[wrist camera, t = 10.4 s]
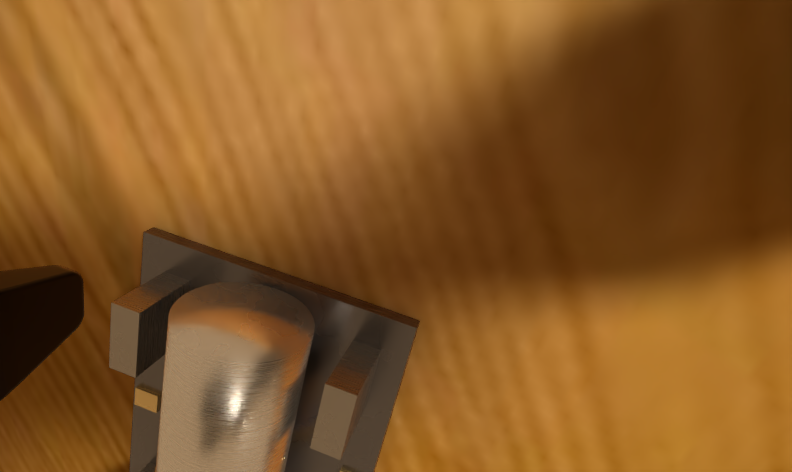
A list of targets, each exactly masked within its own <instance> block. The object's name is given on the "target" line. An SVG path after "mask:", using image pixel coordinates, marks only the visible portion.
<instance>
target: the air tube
mask: <svg viewBox="0 0 792 472" xmlns="http://www.w3.org/2000/svg"><path fill="white" fill-rule="evenodd" d="M314 329H315V323H314V319H313V316H312V314H311V313H310V311H309V310H308V308H307V307H306V306H305V305H304V304H303V303H302V302H300V301H299V300H298V299H296V298H295V297H293V296H291V295H290V294H288V293H286V292H283V291H281V290H278V289H276V288H272V287H269V286H265V285H261V284H255V283H247V282H223V283H215V284H209V285H205V286H202V287H199V288H196V289H194V290H191V291H189V292H187V293H186V294H184V295H182V296H181V297H180V298H179V299H178V300H177V301H176V302H175V303H174V304H173V306H172V307H171V309H170V312H169V316H168V328H167V340H166V352H165V364H164V376H163V388H162V400H161V412H160V424H159V436H158V448H157V460H156V467H155V471H154V472H285V467H286V462H287V457H288V452H289V448H290V443H291V438H292V434H293V429H294V424H295V420H296V415H297V410H298V405H299V401H300V396H301V391H302V387H303V382H304V377H305V372H306V368H307V363H308V358H309V354H310V349H311V344H312V339H313V335H314Z"/></svg>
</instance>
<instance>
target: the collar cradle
mask: <svg viewBox="0 0 792 472" xmlns="http://www.w3.org/2000/svg"><path fill="white" fill-rule="evenodd" d="M223 282H247V283H255V284H261V285H265V286H269V287H272V288H276V289H278V290H281V291H283V292H286V293H288V294H290V295H291V296H293V297H295V298H296V299H298V300H299V301H300V302H302V303H303V304H304V305H305V306H306V307H307V308H308V310H309V311H310V313H311V314H312V316H313V319H314V323H315V329H314V335H313V339H312V344H311V349H310V354H309V358H308V363H307V368H306V372H305V377H304V382H303V387H302V391H301V396H300V401H299V405H298V410H297V415H296V420H295V424H294V429H293V434H292V438H291V443H290V448H289V452H288V457H287V462H286V467H285V472H374V471H375V467H376V464H377V461H378V458H379V454H380V451H381V448H382V444H383V441H384V438H385V434H386V431H387V428H388V425H389V421H390V418H391V415H392V411H393V408H394V405H395V402H396V398H397V395H398V392H399V388H400V385H401V382H402V378H403V375H404V372H405V369H406V365H407V362H408V359H409V355H410V352H411V349H412V346H413V342H414V339H415V336H416V332H417V329H418V326H419V322H420V321H419V320H416V319H413V318H410V317H407V316H405V315H402V314H399V313H396V312H393V311H390V310H388V309H385V308H382V307H379V306H376V305H373V304H370V303H368V302H365V301H362V300H359V299H356V298H353V297H350V296H348V295H345V294H342V293H339V292H336V291H333V290H330V289H328V288H325V287H322V286H319V285H316V284H313V283H310V282H308V281H305V280H302V279H299V278H296V277H293V276H290V275H288V274H285V273H282V272H279V271H276V270H273V269H271V268H268V267H265V266H262V265H259V264H256V263H253V262H251V261H248V260H245V259H242V258H239V257H236V256H233V255H231V254H228V253H225V252H222V251H219V250H216V249H213V248H211V247H208V246H205V245H202V244H199V243H196V242H193V241H191V240H188V239H185V238H182V237H179V236H176V235H173V234H171V233H168V232H165V231H162V230H159V229H156V228H151V229H149V230H147V231H145V232H144V236H143V252H142V269H141V286H139V287H137V288H136V289H134V290H132V291H130V292H129V293H127V294H125V295H123V296H122V297H120V298H118V299H117V300H115V301H113V302H111V326H110V354H109V368H112V369H114V370H117V371H119V372H122V373H124V374H127V375H129V376H132V377H134V378H135V387H134V404H133V421H132V438H131V455H130V472H154V471H155V467H156V460H157V448H158V436H159V424H160V412H161V400H162V388H163V376H164V364H165V352H166V340H167V328H168V316H169V312H170V309H171V307H172V306H173V304H174V303H175V302H176V301H177V300H178V299H179V298H180V297H181V296H182V295H184V294H186V293H187V292H189V291H191V290H194V289H196V288H199V287H202V286H205V285H209V284H215V283H223Z"/></svg>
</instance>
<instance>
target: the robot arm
mask: <svg viewBox="0 0 792 472" xmlns="http://www.w3.org/2000/svg"><path fill="white" fill-rule="evenodd" d="M83 316H84V293H83V279H82V277H81V275H80V274H79V273H78V272H76V271H73V270H71V269H68V268H65V267H62V266H58V265H52V266H43V267H34V268H25V269H16V270H7V271H0V401H1V400H2V399H3V398H4V397H6V396H7V395H8V394H9V393H10V392H11V391H12V390H13V389H14V388H15V387H17V386H18V385H19V384H20V383H21V382H22V381H23V380H24V379H25V378H26V377H27V376H28V375H29V374H30V373H31V372H32V371H33V370H34V369H35V368H36V367H37V366H38V365H40V364H41V363H42V362H43V361H44V360H45V359H46V358H47V357H48V356H49V355H50V354H51V353H52V352H53V351H54V350H55V349H56V348H57V347H58V346H59V345H60V344H61V343H62V342H63V341H64V340H65V339H67V338H68V337H69V336H70V335H71V334H72V333H73V332H74V331H75V330H76V329H77V328H78V326H79V325H80V324H81V322H82V319H83Z"/></svg>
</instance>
